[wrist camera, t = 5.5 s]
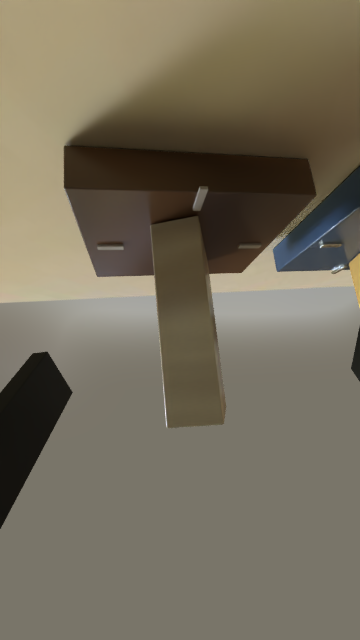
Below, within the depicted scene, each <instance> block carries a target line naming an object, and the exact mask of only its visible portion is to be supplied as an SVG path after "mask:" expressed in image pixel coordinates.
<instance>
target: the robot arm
mask: <svg viewBox="0 0 360 640" xmlns="http://www.w3.org/2000/svg"><path fill="white" fill-rule="evenodd" d="M351 369H352V371H353V372H354V374H355V375H356V377H357V378H358V380H359V381H360V328H359V332H358V338H357V343H356V347H355V352H354V357H353V362H352V367H351ZM71 394H72V391H71V389H70V388H69V386H68V385H67V383H66V381H65V379H64V378H63V377H62V375H61V373H60V371H59V370H58V368H57V366H56V365H55V363H54V362H53V360H52V359H51V357H50V355H49V354H48V352H41V353H33V354H32V355H31V356H30V357H29V359H28V360H27V361H26V362H25V364H24V365H23V366H22V367H21V368H20V370H19V371H18V372H17V373H16V375H15V376H14V377H13V378H12V379H11V381H10V382H9V383H8V384H7V385H6V387H5V388H4V389H3V390H2V392H1V393H0V529H1V527H2V525H3V523H4V521H5V519H6V517H7V515H8V513H9V512H10V510H11V508H12V505H13V504H14V502H15V500H16V498H17V496H18V495H19V493H20V491H21V489H22V487H23V485H24V483H25V481H26V479H27V478H28V476H29V474H30V472H31V470H32V468H33V466H34V464H35V463H36V461H37V459H38V457H39V455H40V453H41V451H42V449H43V447H44V445H45V444H46V442H47V440H48V438H49V436H50V434H51V432H52V430H53V429H54V427H55V425H56V423H57V421H58V419H59V417H60V415H61V413H62V412H63V410H64V408H65V406H66V404H67V402H68V400H69V398H70V396H71Z"/></svg>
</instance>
